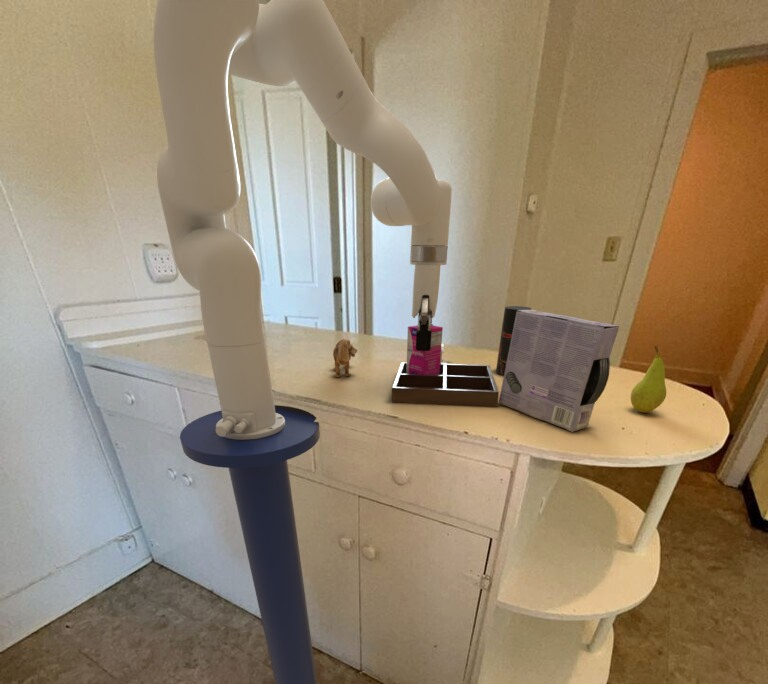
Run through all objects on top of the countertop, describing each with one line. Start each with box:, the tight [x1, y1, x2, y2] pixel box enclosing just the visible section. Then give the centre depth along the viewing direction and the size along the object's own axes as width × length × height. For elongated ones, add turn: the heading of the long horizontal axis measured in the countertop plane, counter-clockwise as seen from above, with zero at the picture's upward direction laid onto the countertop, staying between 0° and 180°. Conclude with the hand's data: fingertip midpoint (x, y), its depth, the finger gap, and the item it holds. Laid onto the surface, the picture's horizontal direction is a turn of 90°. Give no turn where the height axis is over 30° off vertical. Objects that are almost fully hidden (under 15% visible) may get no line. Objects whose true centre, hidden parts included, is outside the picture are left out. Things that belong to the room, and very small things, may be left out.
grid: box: [391, 361, 500, 408], centre depth 95 cm, size 21×21×3 cm
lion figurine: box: [332, 338, 358, 378], centre depth 105 cm, size 15×5×9 cm, turn 15°
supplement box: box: [406, 324, 444, 375], centre depth 97 cm, size 6×6×12 cm
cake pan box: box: [498, 309, 620, 433], centre depth 77 cm, size 19×5×18 cm, turn 33°
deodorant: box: [495, 305, 532, 376], centre depth 104 cm, size 6×6×15 cm
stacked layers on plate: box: [440, 343, 449, 364], centre depth 112 cm, size 10×9×6 cm
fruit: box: [630, 345, 667, 414], centre depth 80 cm, size 6×6×12 cm
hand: (424, 345), depth 96 cm, fingers closed on supplement box, 8 cm apart
